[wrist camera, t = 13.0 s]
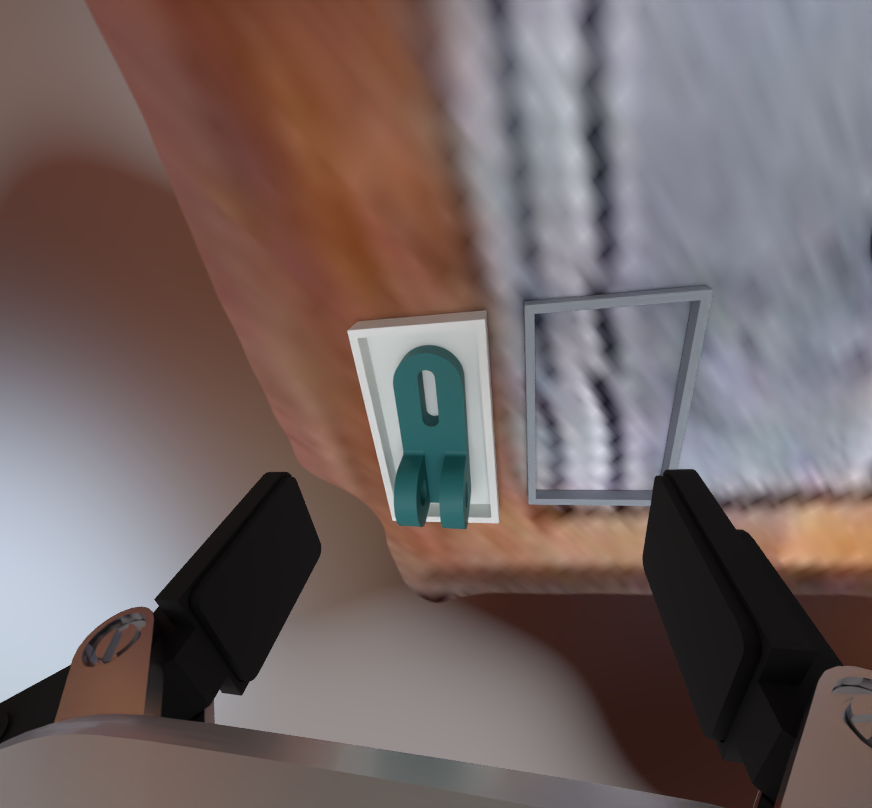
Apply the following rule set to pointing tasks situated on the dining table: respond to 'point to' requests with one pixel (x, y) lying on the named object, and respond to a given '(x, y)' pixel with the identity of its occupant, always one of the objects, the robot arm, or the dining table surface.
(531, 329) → the grey rectangular frame
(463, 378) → the bracket
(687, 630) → the robot arm
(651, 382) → the dining table surface
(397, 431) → the parts tray
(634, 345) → the dining table surface
